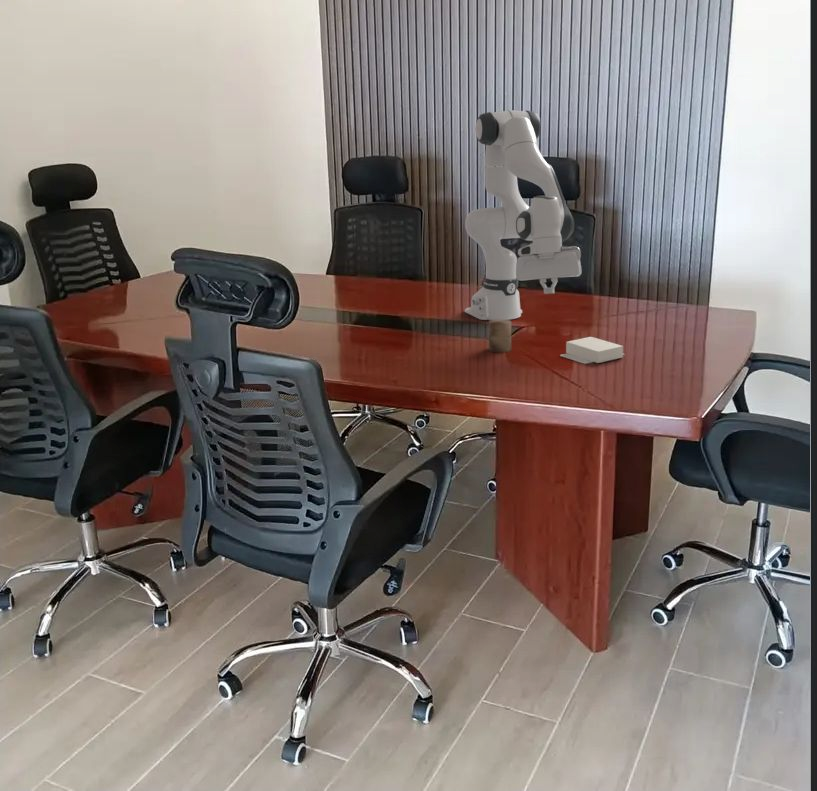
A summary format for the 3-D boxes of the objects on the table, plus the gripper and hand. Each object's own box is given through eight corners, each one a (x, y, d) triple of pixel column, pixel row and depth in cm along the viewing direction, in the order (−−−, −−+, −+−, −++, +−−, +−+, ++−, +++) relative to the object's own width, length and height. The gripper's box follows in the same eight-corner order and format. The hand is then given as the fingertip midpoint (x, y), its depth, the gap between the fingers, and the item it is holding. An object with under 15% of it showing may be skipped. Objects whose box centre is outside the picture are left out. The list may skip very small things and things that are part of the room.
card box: (566, 341, 269) (598, 351, 258) (590, 336, 274) (623, 346, 263) (566, 352, 270) (597, 363, 259) (590, 347, 275) (622, 357, 264)
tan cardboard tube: (484, 349, 278) (484, 321, 276) (501, 345, 282) (502, 318, 279) (497, 353, 273) (497, 325, 270) (515, 350, 276) (515, 322, 273)
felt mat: (560, 355, 268) (560, 354, 268) (599, 347, 276) (599, 346, 276) (584, 364, 260) (584, 363, 259) (624, 354, 267) (624, 354, 267)
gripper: (583, 245, 269) (585, 291, 270) (519, 251, 278) (521, 295, 279) (577, 244, 263) (579, 291, 264) (513, 250, 272) (514, 295, 274)
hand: (549, 293), depth 272 cm, fingers closed
